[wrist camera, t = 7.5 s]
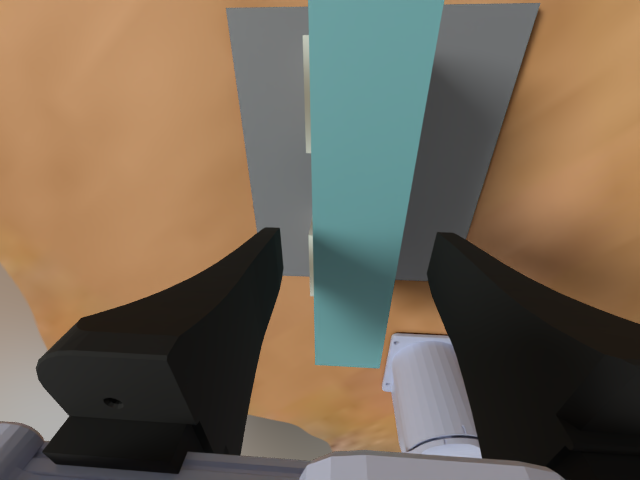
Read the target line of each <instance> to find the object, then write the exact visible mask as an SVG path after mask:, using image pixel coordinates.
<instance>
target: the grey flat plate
mask: <svg viewBox="0 0 640 480" xmlns="http://www.w3.org/2000/svg"><path fill="white" fill-rule="evenodd" d="M539 6H540V3H513V4H450V5H443V10H442V16H441V22H440V27H439V33H438V39H437V44H436V50H435V56H434V61H433V67H432V73H431V78H430V84H429V90H428V95H427V101H426V107H425V113H424V118H423V124H422V130H421V135H420V141H419V147H418V152H417V158H416V164H415V169H414V175H413V181H412V186H411V192H410V198H409V203H408V209H407V215H406V220H405V226H404V232H403V237H402V243H401V249H400V254H399V260H398V266H397V272H396V277H395V280H414V281H428V278H427V270H428V266H429V262H430V258H431V254H432V250H433V246H434V242H435V238H436V234H437V232H450V233H455V234H457V235H459V236H460V237H462V238H464V239H465V240H466V237H467V234H468V231H469V228H470V224H471V221H472V218H473V215H474V212H475V209H476V205H477V202H478V199H479V196H480V193H481V190H482V186H483V183H484V180H485V177H486V174H487V171H488V167H489V164H490V161H491V158H492V155H493V152H494V148H495V145H496V142H497V139H498V136H499V132H500V129H501V126H502V123H503V120H504V117H505V113H506V110H507V107H508V104H509V101H510V98H511V94H512V91H513V88H514V85H515V82H516V79H517V75H518V72H519V69H520V66H521V63H522V60H523V56H524V53H525V50H526V47H527V44H528V40H529V37H530V34H531V31H532V28H533V25H534V21H535V18H536V15H537V12H538V9H539ZM226 12H227V19H228V26H229V33H230V40H231V48H232V55H233V62H234V69H235V76H236V84H237V91H238V98H239V105H240V112H241V119H242V127H243V134H244V141H245V148H246V155H247V163H248V170H249V177H250V184H251V191H252V198H253V206H254V213H255V220H256V227H257V233H258V232H259V231H261V230H262V229H263V228H265V227H274V228H280V233H281V245H282V256H283V267H284V269H283V276H309V277H310V272H309V237H308V235H309V230H310V225H311V220H312V171H311V153H306V134H305V99H304V65H303V35H309V17H308V7H260V8H226Z"/></svg>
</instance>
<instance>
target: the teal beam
mask: <svg viewBox="0 0 640 480" xmlns="http://www.w3.org/2000/svg"><path fill="white" fill-rule="evenodd" d="M443 5H444V0H308V17H309V68H310V119H311V171H312V222H313V274H314V325H315V365H328V366H346V367H364V368H380V362H381V357H382V351H383V345H384V340H385V334H386V328H387V323H388V317H389V311H390V306H391V300H392V294H393V289H394V283H395V277H396V272H397V266H398V260H399V254H400V249H401V243H402V237H403V232H404V226H405V220H406V215H407V209H408V203H409V198H410V192H411V186H412V181H413V175H414V169H415V164H416V158H417V152H418V147H419V141H420V135H421V130H422V124H423V118H424V113H425V107H426V101H427V95H428V90H429V84H430V78H431V73H432V67H433V61H434V56H435V50H436V44H437V39H438V33H439V27H440V22H441V16H442V10H443Z"/></svg>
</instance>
